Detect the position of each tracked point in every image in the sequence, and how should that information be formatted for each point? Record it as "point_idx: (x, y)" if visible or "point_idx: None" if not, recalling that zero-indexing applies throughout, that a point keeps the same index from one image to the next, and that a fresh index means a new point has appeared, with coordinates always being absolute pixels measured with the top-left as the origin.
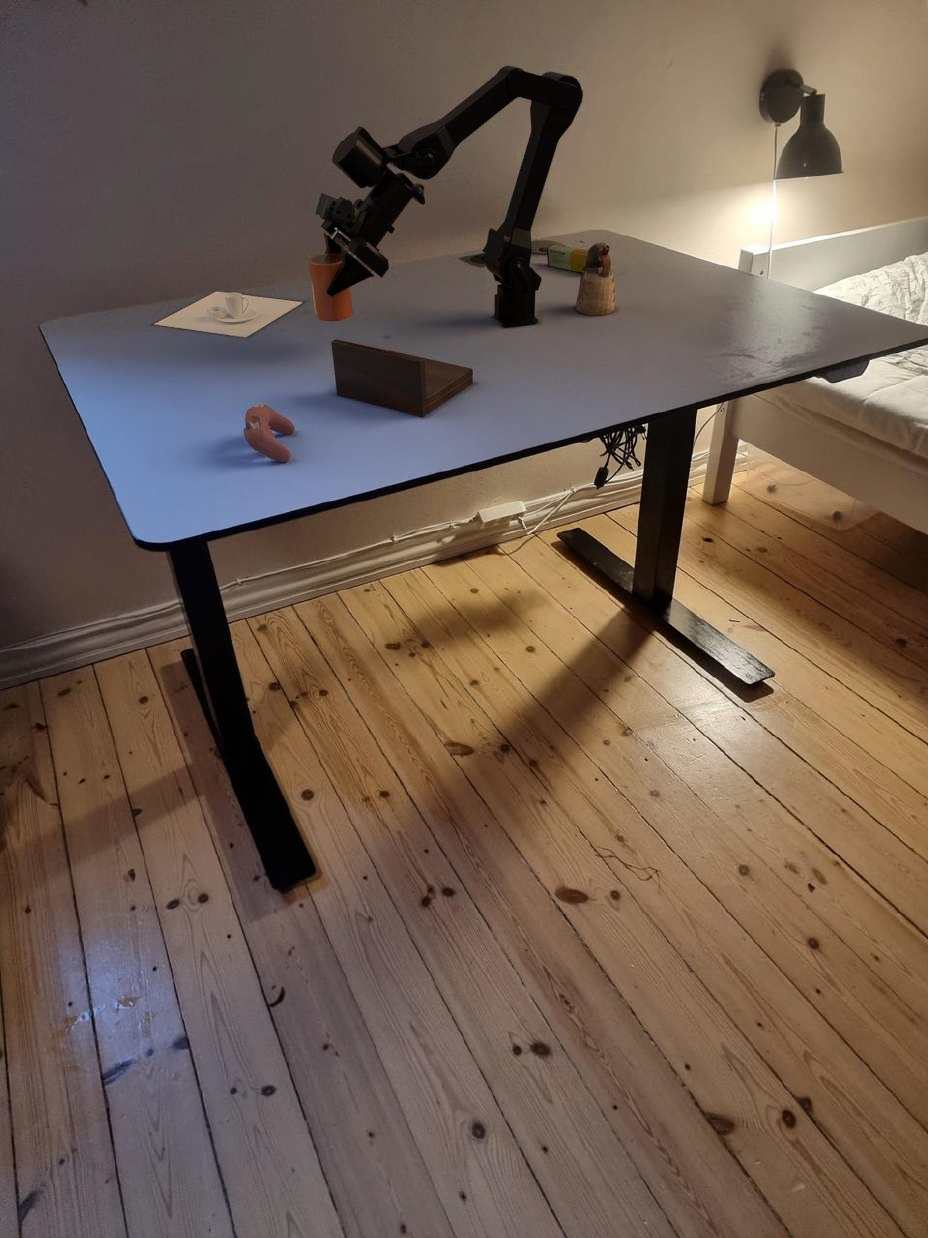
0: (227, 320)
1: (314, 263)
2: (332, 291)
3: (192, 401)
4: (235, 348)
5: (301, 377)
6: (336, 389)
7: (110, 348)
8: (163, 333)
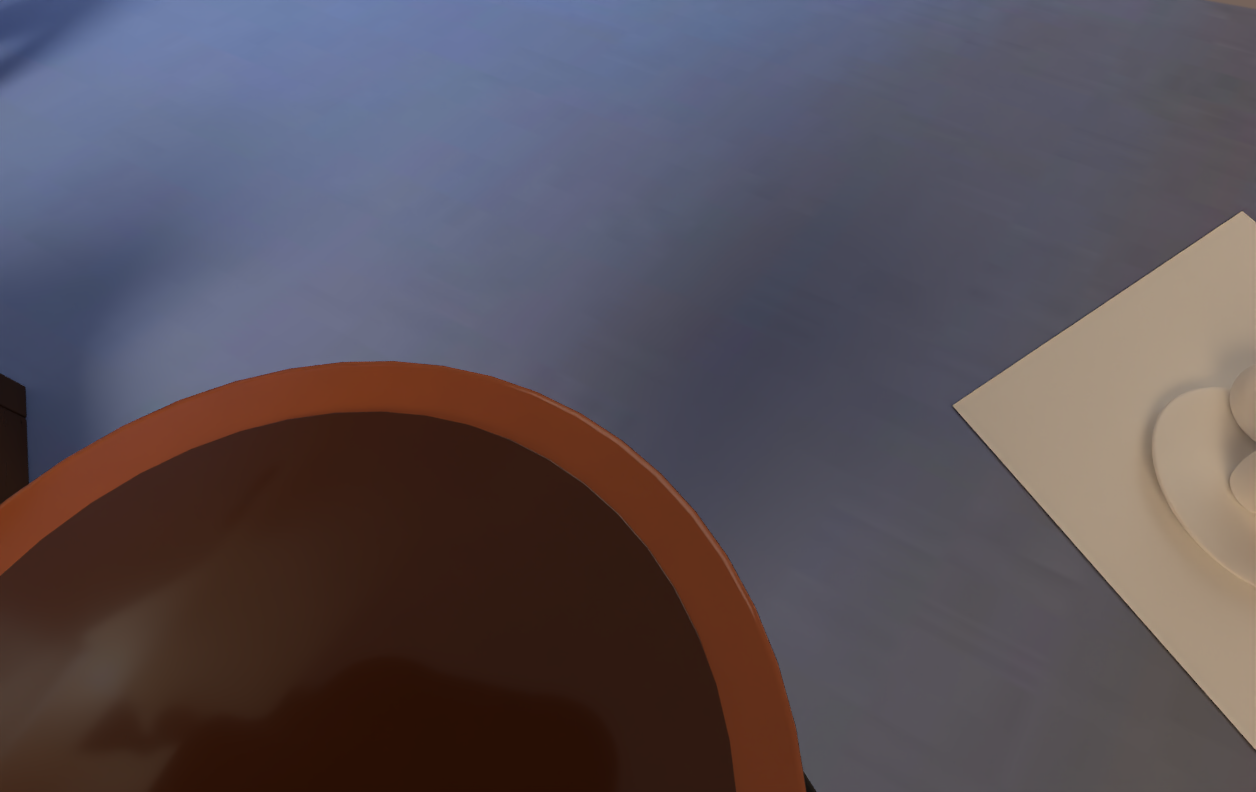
0: (1186, 420)
1: (295, 387)
2: None
3: (460, 39)
4: (841, 317)
5: None
6: (1, 374)
7: (1039, 53)
8: (1128, 200)
